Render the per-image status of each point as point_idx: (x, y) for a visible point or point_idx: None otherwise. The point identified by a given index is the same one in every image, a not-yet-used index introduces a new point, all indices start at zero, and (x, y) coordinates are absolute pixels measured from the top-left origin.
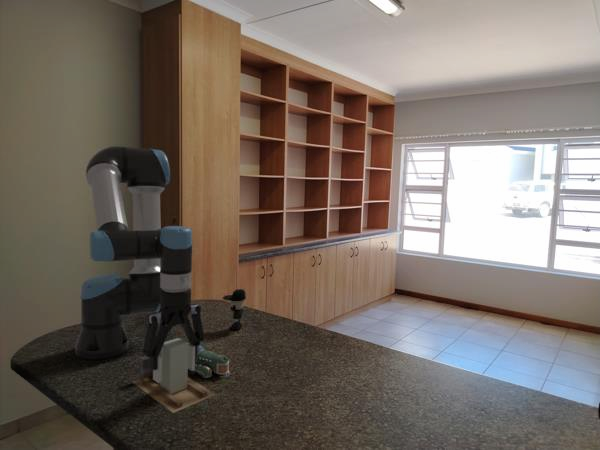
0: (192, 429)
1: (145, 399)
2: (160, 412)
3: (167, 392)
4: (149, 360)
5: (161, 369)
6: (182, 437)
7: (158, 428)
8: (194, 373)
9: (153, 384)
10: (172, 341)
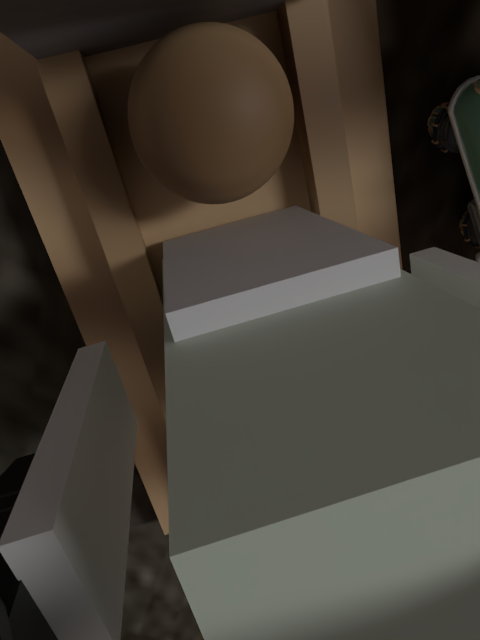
0: None
1: (52, 282)
2: None
3: None
4: None
5: (129, 505)
6: (164, 634)
7: None
8: (455, 151)
9: (111, 228)
10: (437, 552)
